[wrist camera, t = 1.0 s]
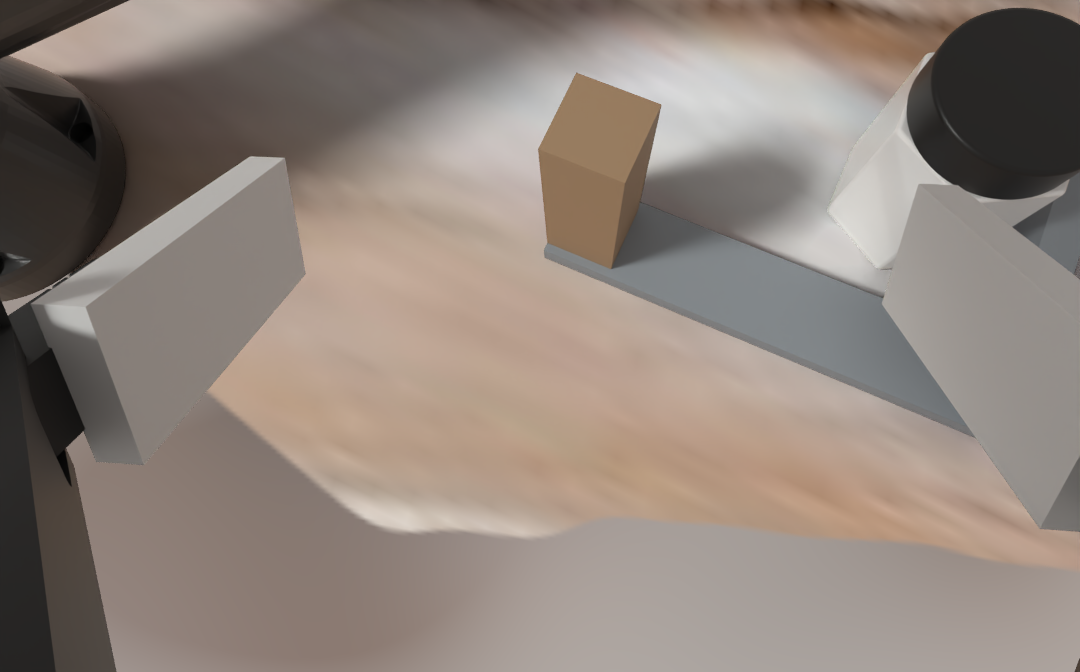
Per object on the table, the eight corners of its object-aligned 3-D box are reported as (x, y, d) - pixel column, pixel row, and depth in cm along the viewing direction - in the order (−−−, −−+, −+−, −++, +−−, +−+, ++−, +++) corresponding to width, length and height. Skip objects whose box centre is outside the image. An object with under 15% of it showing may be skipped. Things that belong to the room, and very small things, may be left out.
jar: (1008, 224, 41) (1183, 112, 29) (900, 302, 40) (1035, 218, 28) (903, 113, 43) (1028, -34, 31) (798, 185, 42) (886, 62, 30)
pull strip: (544, 257, 41) (533, 158, 30) (657, 22, 45) (687, -151, 33) (979, 439, 38) (1164, 409, 26) (1066, 168, 41) (1265, 33, 29)
